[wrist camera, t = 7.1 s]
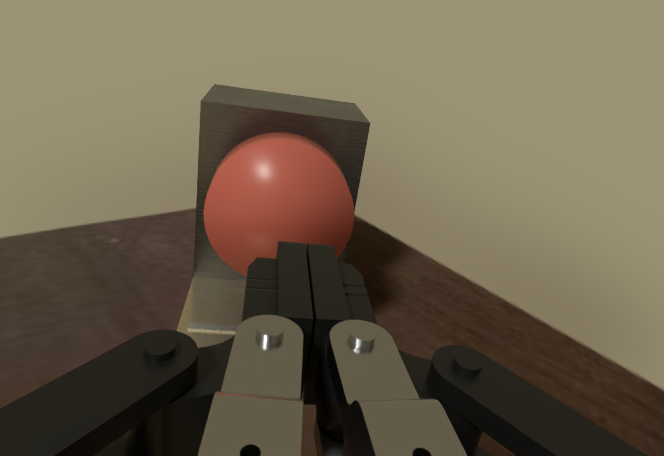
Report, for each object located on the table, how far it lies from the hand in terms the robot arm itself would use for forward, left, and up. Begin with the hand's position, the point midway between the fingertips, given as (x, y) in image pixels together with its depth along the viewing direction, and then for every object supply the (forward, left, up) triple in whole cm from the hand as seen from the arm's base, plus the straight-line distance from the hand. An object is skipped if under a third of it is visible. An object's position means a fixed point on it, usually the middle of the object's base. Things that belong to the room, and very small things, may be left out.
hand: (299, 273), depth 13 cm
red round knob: (+7, -13, -6) cm, 16 cm away
